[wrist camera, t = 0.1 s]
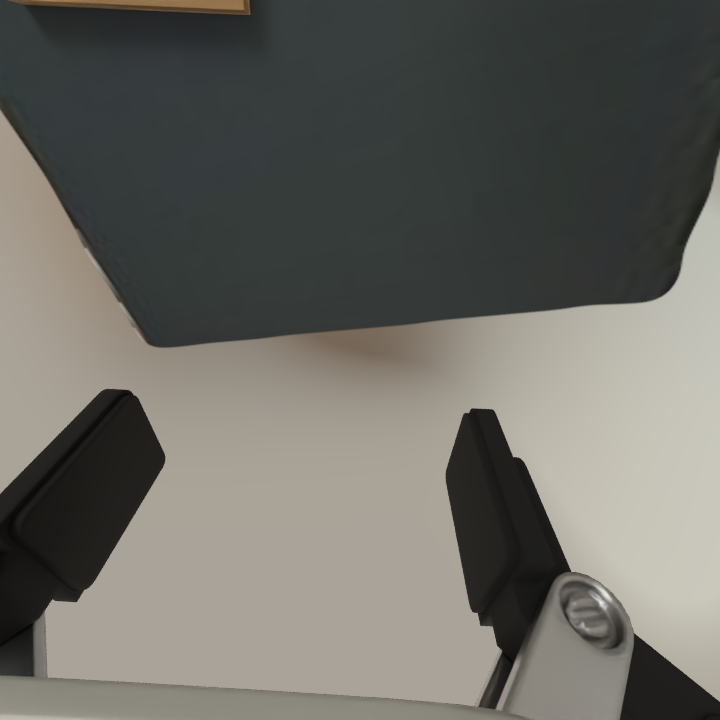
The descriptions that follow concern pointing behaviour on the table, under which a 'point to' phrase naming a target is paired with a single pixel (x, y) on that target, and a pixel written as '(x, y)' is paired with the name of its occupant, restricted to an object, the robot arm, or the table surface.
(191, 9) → the wooden divided tray
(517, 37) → the table surface
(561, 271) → the table surface
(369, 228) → the table surface
